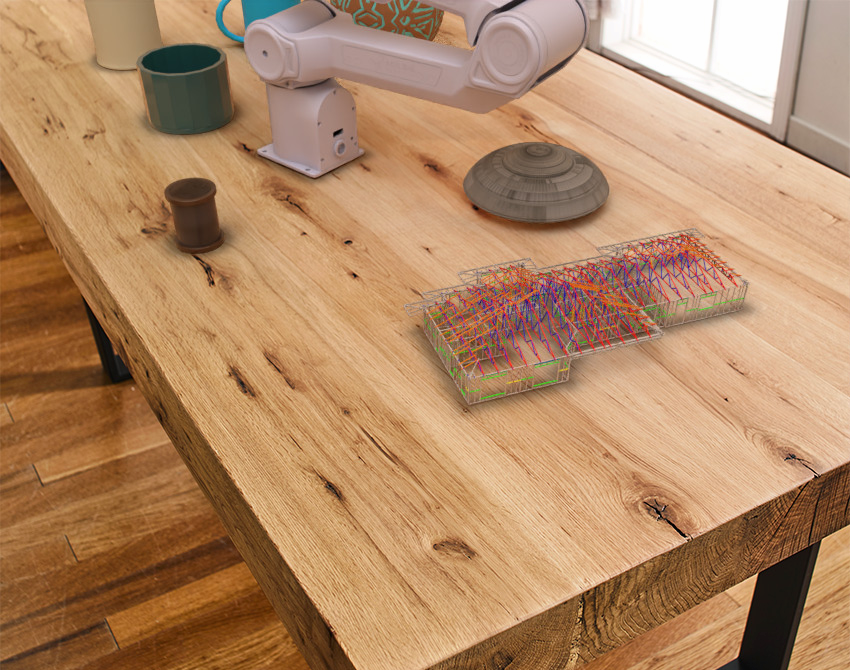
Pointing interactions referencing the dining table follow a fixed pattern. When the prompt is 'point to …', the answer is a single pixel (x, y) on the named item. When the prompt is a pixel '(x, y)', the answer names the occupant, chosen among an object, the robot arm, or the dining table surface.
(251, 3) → the mug
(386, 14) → the decorative sphere
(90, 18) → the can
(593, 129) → the dining table surface
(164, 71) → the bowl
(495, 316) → the roof frame
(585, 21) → the robot arm
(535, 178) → the flying saucer
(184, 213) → the spool
